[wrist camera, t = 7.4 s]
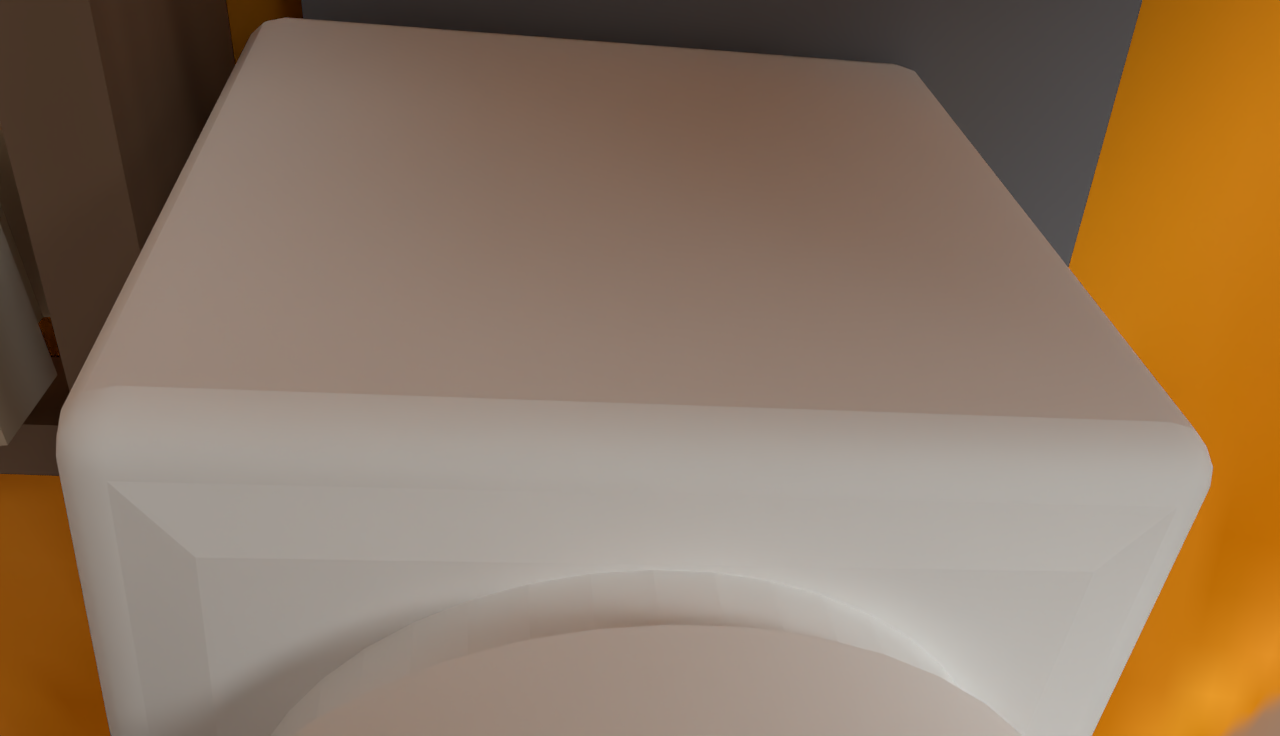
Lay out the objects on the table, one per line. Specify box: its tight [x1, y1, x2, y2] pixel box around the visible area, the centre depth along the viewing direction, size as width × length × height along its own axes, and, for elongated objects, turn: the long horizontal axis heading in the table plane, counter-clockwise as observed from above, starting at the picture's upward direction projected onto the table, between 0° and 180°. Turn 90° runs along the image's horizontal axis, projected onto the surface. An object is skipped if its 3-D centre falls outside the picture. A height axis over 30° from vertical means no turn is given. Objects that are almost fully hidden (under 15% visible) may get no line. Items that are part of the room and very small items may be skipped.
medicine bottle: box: [56, 17, 1213, 736], centre depth 10 cm, size 7×7×12 cm
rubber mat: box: [301, 0, 1142, 267], centre depth 15 cm, size 9×9×1 cm
